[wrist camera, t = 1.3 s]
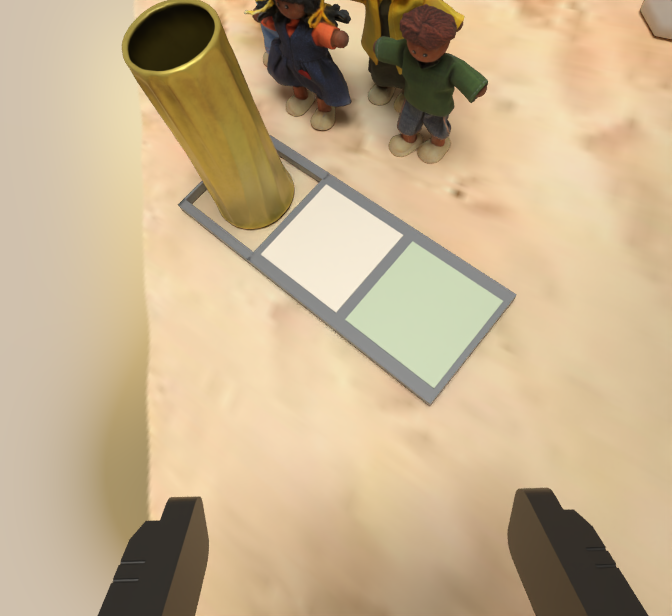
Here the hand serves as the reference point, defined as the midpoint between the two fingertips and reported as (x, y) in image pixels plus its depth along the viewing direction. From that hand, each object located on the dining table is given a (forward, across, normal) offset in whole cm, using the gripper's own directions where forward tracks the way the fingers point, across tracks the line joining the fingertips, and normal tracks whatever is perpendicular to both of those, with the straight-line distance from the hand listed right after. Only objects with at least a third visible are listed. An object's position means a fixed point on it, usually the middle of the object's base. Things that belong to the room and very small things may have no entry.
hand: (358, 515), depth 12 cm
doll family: (+34, -2, -9) cm, 35 cm away
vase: (+29, +6, -2) cm, 29 cm away
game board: (+24, 0, +1) cm, 24 cm away
